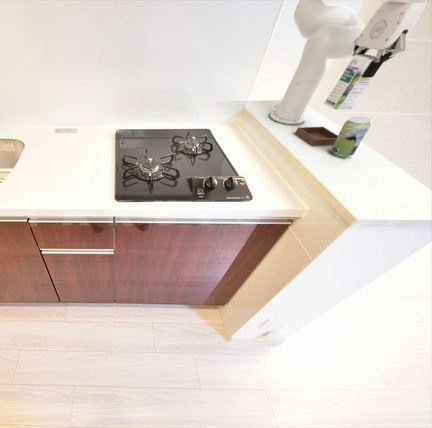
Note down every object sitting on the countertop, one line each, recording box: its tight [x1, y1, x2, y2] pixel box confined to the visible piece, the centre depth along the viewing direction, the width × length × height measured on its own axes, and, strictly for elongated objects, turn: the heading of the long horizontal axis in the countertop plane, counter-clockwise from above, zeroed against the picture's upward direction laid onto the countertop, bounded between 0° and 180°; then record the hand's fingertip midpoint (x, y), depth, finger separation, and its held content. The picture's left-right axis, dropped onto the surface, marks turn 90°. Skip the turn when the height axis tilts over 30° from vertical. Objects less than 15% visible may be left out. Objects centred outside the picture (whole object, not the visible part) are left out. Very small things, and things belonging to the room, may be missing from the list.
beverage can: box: [330, 116, 371, 157], centre depth 75 cm, size 6×7×12 cm
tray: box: [294, 126, 339, 147], centre depth 86 cm, size 10×10×2 cm
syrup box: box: [323, 53, 385, 110], centre depth 73 cm, size 6×6×14 cm
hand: (358, 73), depth 71 cm, fingers closed on syrup box, 5 cm apart
